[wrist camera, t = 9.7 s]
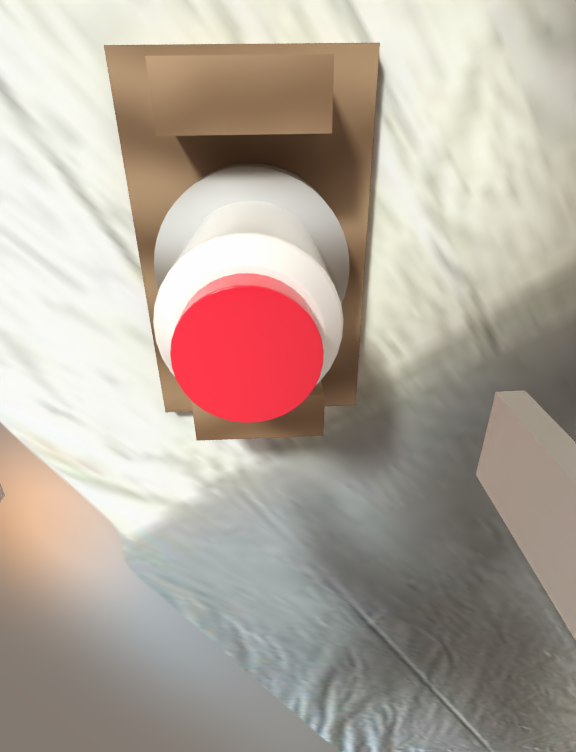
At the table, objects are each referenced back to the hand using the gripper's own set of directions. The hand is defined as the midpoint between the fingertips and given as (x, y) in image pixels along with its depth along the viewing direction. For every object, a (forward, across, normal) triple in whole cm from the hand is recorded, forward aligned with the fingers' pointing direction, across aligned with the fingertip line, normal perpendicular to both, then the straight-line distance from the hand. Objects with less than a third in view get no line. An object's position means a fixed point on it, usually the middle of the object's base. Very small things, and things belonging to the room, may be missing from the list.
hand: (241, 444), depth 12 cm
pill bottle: (+16, 0, 0) cm, 16 cm away
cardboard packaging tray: (+20, 0, 0) cm, 20 cm away
